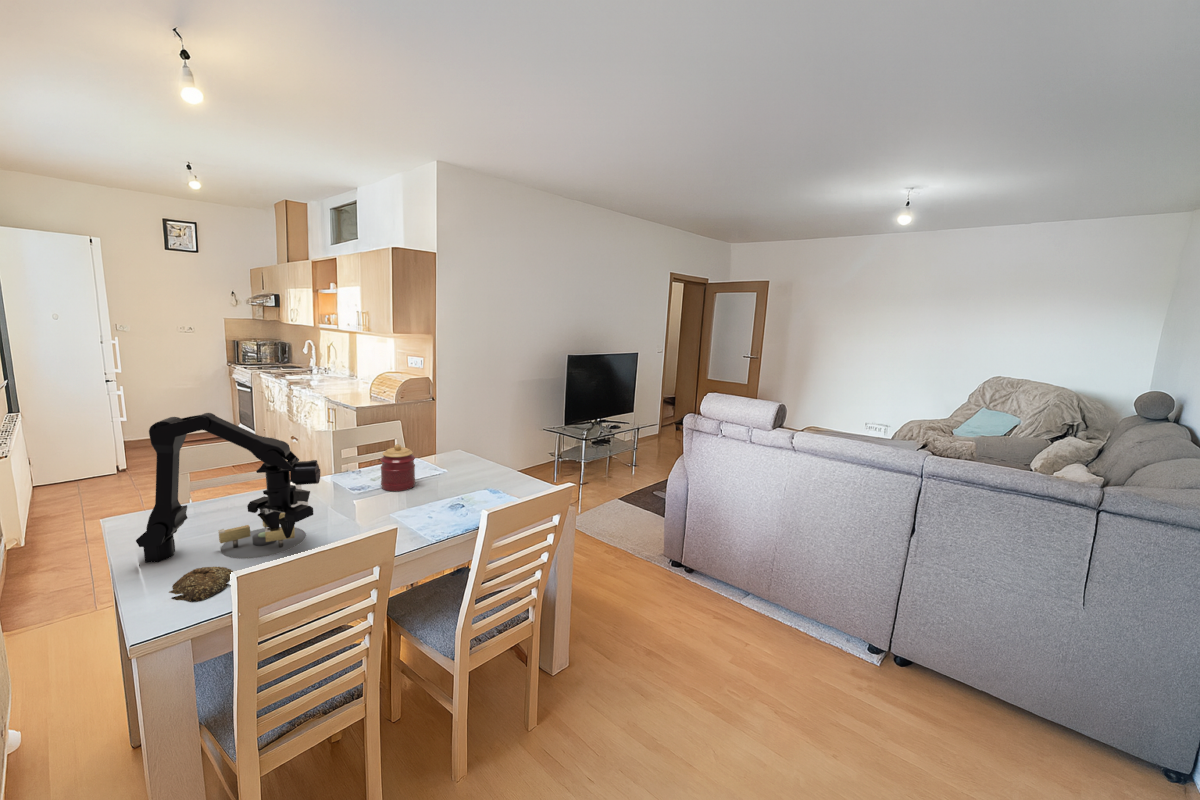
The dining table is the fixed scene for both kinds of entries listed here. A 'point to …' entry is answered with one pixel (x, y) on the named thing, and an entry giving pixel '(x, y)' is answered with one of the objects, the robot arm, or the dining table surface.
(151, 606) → the dining table surface
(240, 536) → the knob left
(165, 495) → the robot arm
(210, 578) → the brown speckled lumpy part
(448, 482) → the dining table surface
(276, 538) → the knob near
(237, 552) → the levelling base
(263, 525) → the wooden plank block
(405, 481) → the canister
